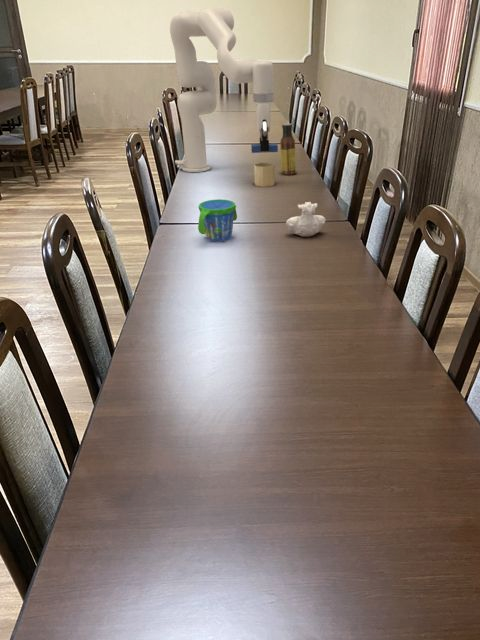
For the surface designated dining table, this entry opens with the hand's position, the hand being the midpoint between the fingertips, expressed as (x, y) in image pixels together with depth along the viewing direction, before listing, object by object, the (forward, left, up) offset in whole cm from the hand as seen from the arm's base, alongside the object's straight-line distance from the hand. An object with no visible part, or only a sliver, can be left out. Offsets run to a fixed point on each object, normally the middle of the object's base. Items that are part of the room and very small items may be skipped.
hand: (264, 149), depth 208 cm
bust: (+9, -64, -14) cm, 66 cm away
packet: (0, 0, -1) cm, 1 cm away
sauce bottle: (+11, +17, -14) cm, 24 cm away
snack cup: (-17, -64, -14) cm, 68 cm away
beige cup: (0, 0, -13) cm, 13 cm away
